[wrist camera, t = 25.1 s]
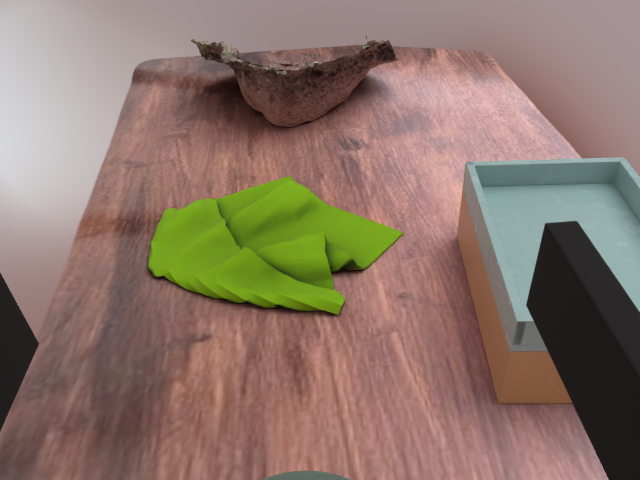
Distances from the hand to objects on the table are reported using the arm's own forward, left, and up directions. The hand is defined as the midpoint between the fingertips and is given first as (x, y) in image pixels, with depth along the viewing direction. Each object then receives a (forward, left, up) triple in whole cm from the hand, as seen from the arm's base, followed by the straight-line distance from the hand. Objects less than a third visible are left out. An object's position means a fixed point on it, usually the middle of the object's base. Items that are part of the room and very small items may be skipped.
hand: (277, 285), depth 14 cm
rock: (+59, +5, -22) cm, 63 cm away
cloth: (+29, +5, -22) cm, 36 cm away
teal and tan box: (+21, -17, -22) cm, 34 cm away
